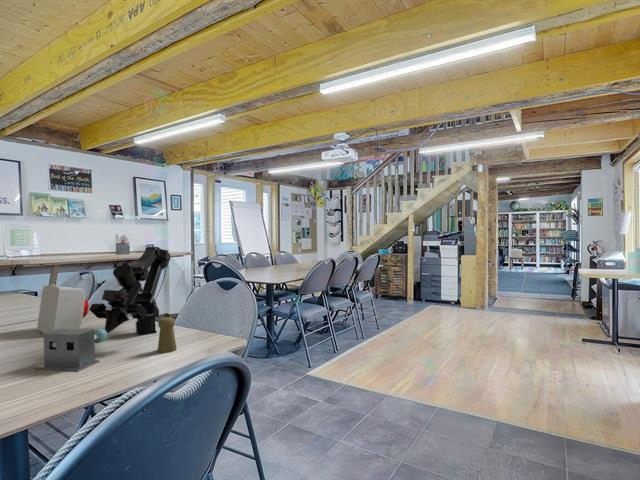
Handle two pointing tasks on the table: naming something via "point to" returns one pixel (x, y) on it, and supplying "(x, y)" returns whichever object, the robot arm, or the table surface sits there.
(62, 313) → the electrical switch box
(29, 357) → the table surface
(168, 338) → the olive tapered figurine
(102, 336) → the popped knob
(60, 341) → the mount
